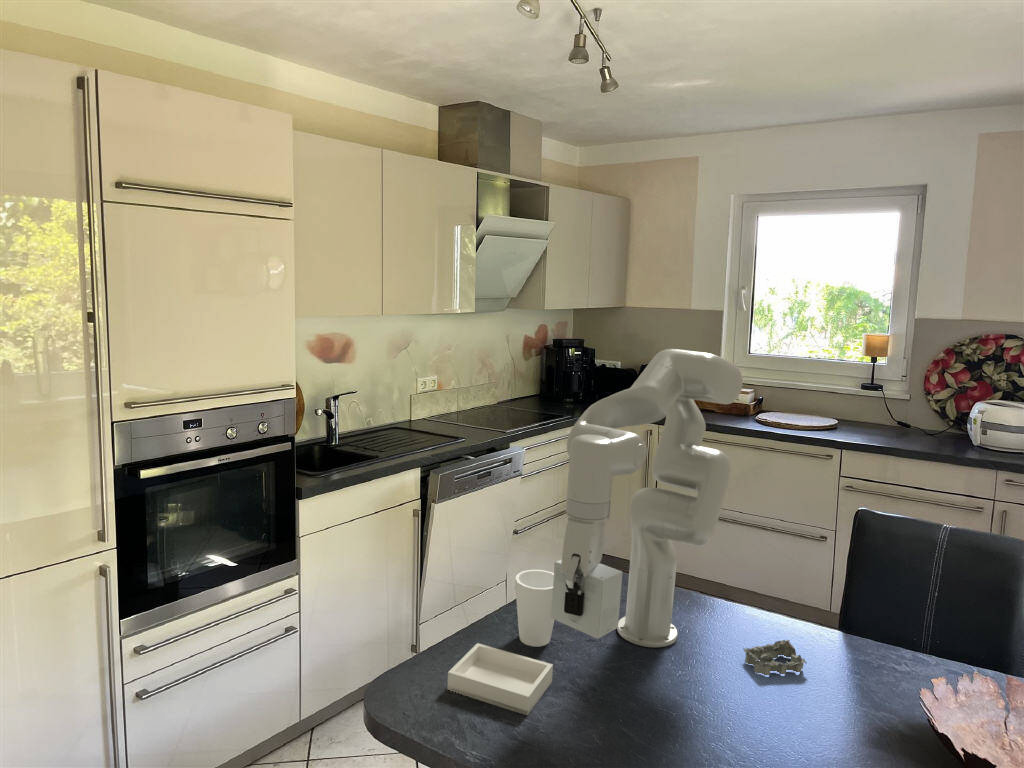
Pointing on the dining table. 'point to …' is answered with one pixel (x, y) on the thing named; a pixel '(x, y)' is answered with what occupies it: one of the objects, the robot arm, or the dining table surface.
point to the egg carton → (773, 651)
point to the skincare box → (590, 600)
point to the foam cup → (534, 606)
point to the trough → (501, 678)
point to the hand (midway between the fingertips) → (580, 603)
